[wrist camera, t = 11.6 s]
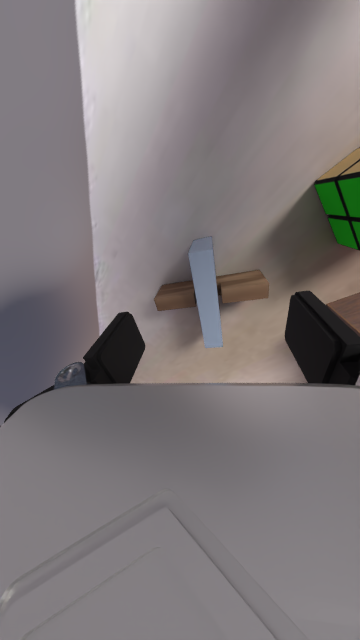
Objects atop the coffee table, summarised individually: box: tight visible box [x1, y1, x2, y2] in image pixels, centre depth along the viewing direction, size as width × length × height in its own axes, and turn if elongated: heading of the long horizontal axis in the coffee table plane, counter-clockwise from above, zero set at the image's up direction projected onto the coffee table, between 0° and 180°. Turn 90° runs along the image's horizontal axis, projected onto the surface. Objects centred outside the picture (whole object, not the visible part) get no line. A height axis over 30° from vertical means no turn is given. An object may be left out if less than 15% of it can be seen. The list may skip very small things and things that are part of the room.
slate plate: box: [188, 236, 223, 348], centre depth 29 cm, size 16×3×9 cm, turn 12°
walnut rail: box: [154, 270, 269, 311], centre depth 30 cm, size 2×18×6 cm, turn 102°
